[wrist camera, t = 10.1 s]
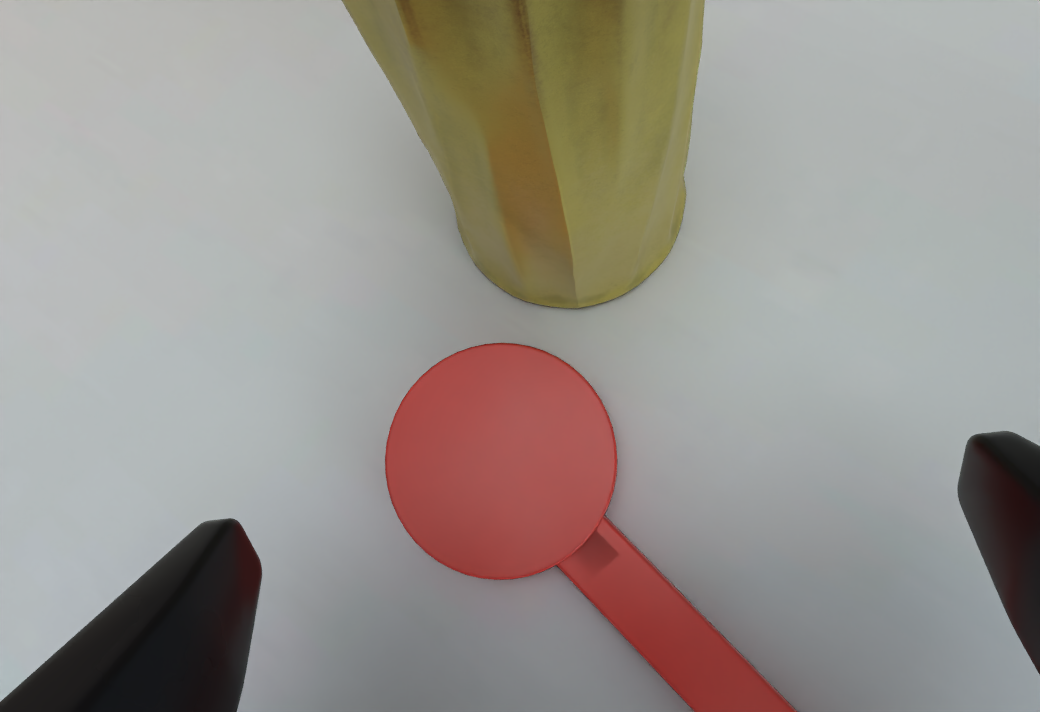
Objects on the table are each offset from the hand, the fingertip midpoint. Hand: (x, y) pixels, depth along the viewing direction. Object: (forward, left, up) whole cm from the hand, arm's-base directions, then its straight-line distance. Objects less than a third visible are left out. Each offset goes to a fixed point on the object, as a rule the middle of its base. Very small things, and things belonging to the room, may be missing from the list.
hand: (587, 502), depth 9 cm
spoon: (-1, -4, -9) cm, 10 cm away
